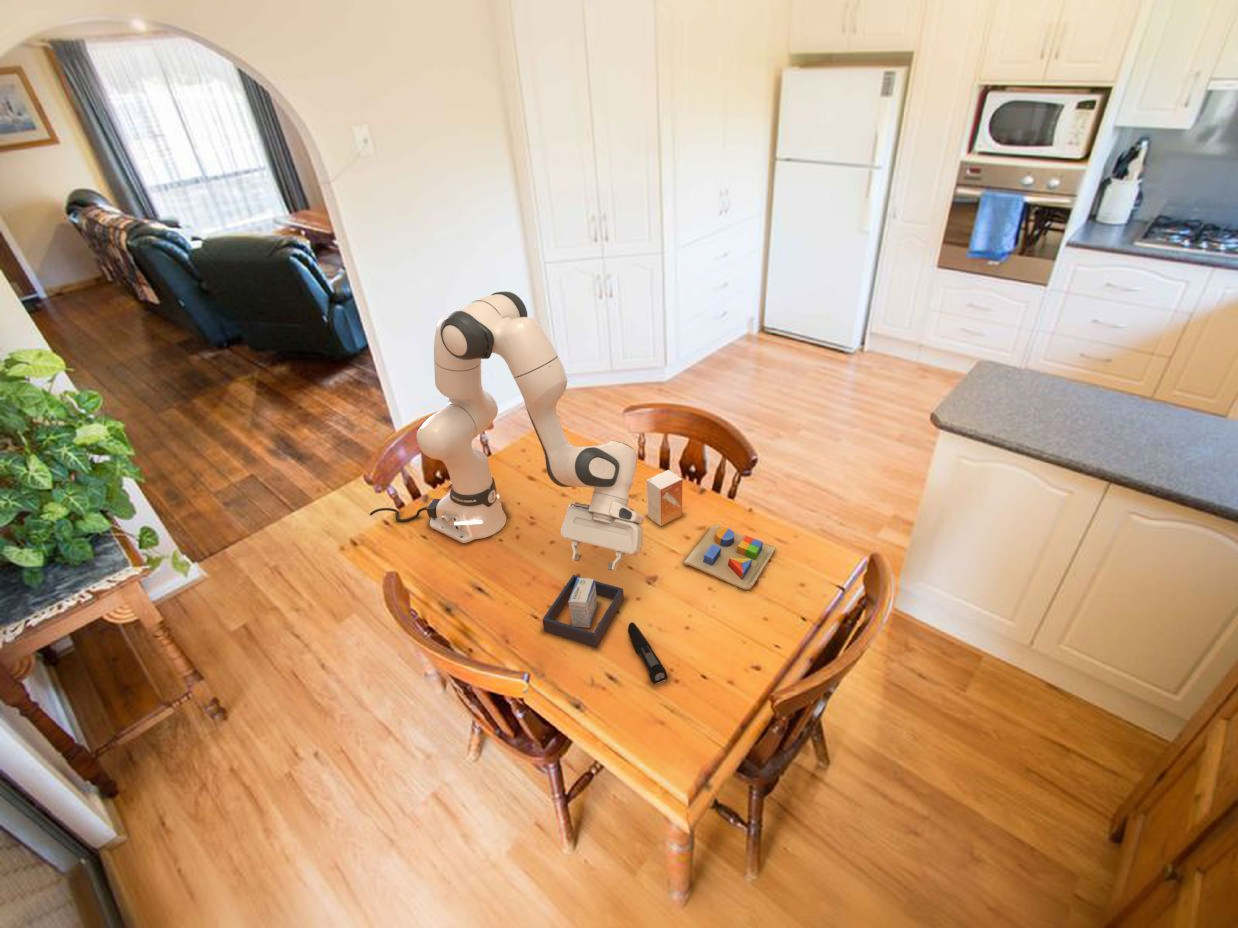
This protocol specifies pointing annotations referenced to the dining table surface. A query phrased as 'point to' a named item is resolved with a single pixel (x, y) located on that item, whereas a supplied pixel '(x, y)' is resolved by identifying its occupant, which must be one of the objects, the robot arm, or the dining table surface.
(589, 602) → the medicine box
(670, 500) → the small box
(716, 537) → the shape puzzle
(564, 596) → the dark rectangular frame
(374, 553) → the dining table surface
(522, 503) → the dining table surface
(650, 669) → the electric trimmer
